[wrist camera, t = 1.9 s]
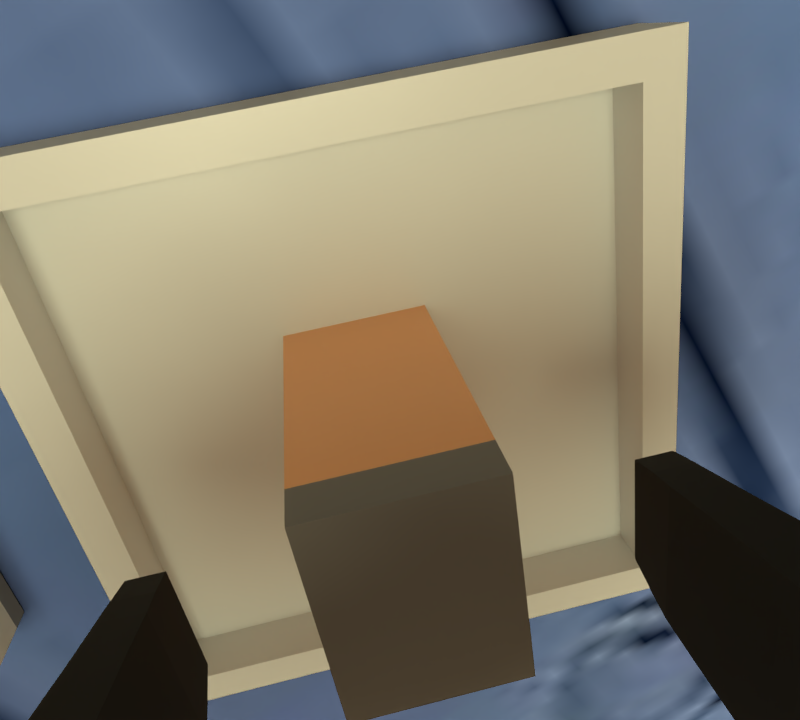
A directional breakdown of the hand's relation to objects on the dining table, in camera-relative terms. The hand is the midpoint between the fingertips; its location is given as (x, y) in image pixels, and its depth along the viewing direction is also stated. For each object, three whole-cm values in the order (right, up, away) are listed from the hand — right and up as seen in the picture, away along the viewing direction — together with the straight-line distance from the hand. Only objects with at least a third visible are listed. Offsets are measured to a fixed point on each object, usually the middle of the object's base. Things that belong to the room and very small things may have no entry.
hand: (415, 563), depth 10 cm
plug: (-1, +2, +5) cm, 5 cm away
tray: (-1, +2, +5) cm, 6 cm away
